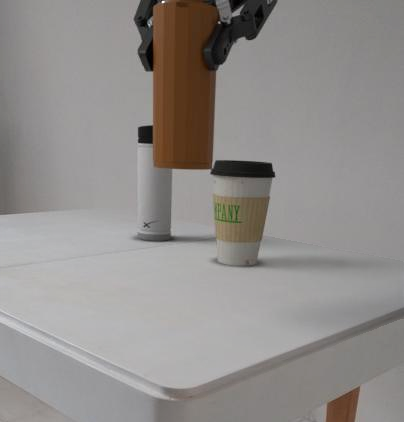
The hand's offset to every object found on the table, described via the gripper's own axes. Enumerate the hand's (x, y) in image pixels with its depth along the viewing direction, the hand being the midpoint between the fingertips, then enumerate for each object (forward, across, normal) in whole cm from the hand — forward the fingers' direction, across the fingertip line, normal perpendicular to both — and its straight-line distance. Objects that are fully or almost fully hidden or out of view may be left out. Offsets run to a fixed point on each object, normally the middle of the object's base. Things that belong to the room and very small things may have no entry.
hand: (176, 62), depth 53 cm
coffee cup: (-4, +4, -39) cm, 40 cm away
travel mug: (-12, +25, -47) cm, 54 cm away
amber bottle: (+5, 0, -8) cm, 9 cm away
